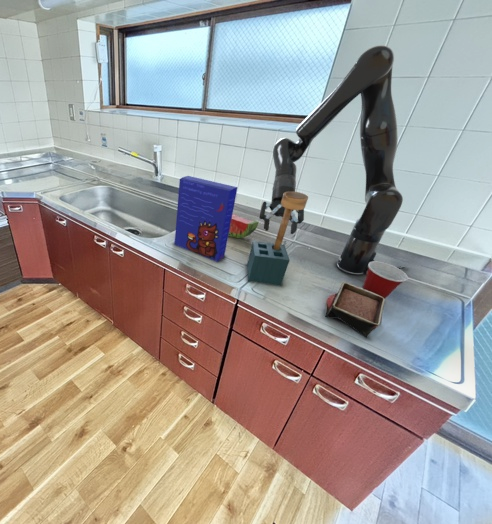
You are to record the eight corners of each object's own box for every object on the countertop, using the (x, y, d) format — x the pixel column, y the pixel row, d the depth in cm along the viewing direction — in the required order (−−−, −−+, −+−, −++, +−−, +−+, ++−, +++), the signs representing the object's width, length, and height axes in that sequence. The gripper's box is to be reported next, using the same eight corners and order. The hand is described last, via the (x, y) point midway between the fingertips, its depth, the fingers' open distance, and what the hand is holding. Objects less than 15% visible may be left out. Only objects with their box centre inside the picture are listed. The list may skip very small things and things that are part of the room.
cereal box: (224, 256, 121) (237, 186, 105) (217, 261, 117) (230, 190, 101) (182, 239, 133) (188, 175, 117) (174, 244, 129) (179, 178, 113)
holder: (276, 269, 113) (284, 244, 107) (281, 285, 104) (289, 260, 98) (246, 265, 115) (252, 240, 110) (248, 280, 106) (254, 255, 100)
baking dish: (380, 323, 91) (392, 295, 87) (370, 347, 79) (385, 316, 75) (329, 304, 100) (338, 278, 96) (314, 323, 88) (324, 295, 84)
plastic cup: (393, 313, 92) (412, 283, 85) (353, 301, 97) (368, 272, 90) (389, 295, 100) (407, 266, 93) (353, 285, 104) (367, 257, 98)
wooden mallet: (259, 269, 113) (281, 189, 94) (278, 272, 111) (305, 191, 93) (260, 281, 106) (285, 198, 88) (281, 284, 105) (310, 200, 87)
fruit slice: (202, 225, 147) (205, 207, 142) (210, 222, 150) (213, 204, 145) (246, 244, 130) (251, 224, 125) (254, 240, 133) (259, 221, 128)
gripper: (265, 183, 102) (260, 225, 99) (309, 187, 99) (305, 230, 96) (261, 193, 110) (256, 232, 106) (301, 196, 107) (297, 237, 103)
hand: (279, 231), depth 101 cm, fingers open, 8 cm apart
